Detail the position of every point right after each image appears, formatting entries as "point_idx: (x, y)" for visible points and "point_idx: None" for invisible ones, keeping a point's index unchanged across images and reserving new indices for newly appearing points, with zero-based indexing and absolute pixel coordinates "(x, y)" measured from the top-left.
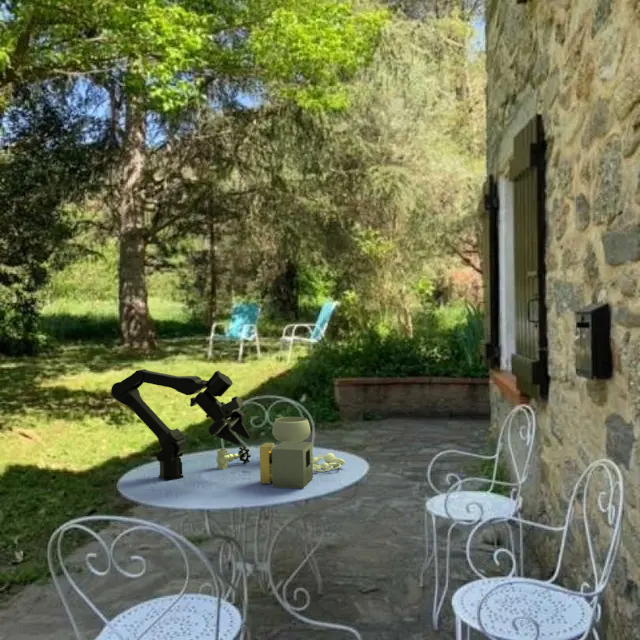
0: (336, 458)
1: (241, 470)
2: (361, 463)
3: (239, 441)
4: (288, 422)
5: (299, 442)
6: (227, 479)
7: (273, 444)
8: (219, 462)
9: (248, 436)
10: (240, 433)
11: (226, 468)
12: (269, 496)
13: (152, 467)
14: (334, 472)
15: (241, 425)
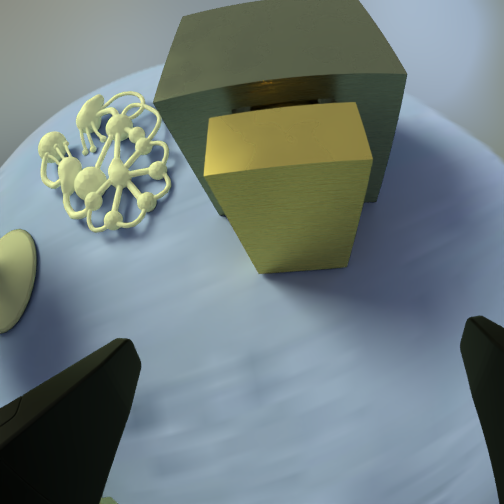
0: (85, 108)
1: (127, 437)
2: (71, 104)
3: (488, 321)
4: None
5: (188, 38)
6: (295, 457)
7: (233, 118)
8: None
9: (125, 354)
10: (100, 460)
11: (113, 500)
12: (473, 176)
13: None
14: (144, 108)
15: (13, 459)
